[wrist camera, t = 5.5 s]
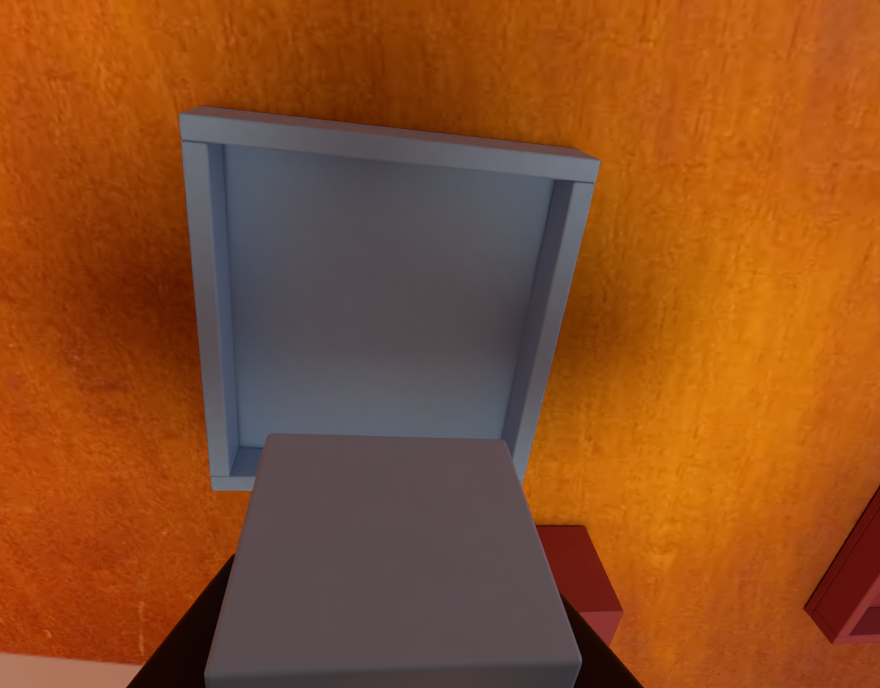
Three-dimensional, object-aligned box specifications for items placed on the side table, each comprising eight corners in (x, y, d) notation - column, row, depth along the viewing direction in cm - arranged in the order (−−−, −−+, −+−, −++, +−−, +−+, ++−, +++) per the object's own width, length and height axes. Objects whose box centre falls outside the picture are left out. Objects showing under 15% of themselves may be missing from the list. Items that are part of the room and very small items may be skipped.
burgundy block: (563, 591, 25) (596, 680, 21) (476, 593, 24) (494, 685, 21) (585, 525, 23) (624, 611, 19) (491, 525, 22) (514, 614, 19)
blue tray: (508, 459, 21) (520, 494, 19) (224, 453, 19) (211, 491, 18) (577, 148, 16) (601, 159, 14) (199, 105, 14) (177, 112, 12)
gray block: (472, 594, 11) (519, 837, 8) (271, 598, 11) (224, 863, 7) (505, 437, 10) (587, 662, 6) (266, 431, 9) (200, 676, 5)
